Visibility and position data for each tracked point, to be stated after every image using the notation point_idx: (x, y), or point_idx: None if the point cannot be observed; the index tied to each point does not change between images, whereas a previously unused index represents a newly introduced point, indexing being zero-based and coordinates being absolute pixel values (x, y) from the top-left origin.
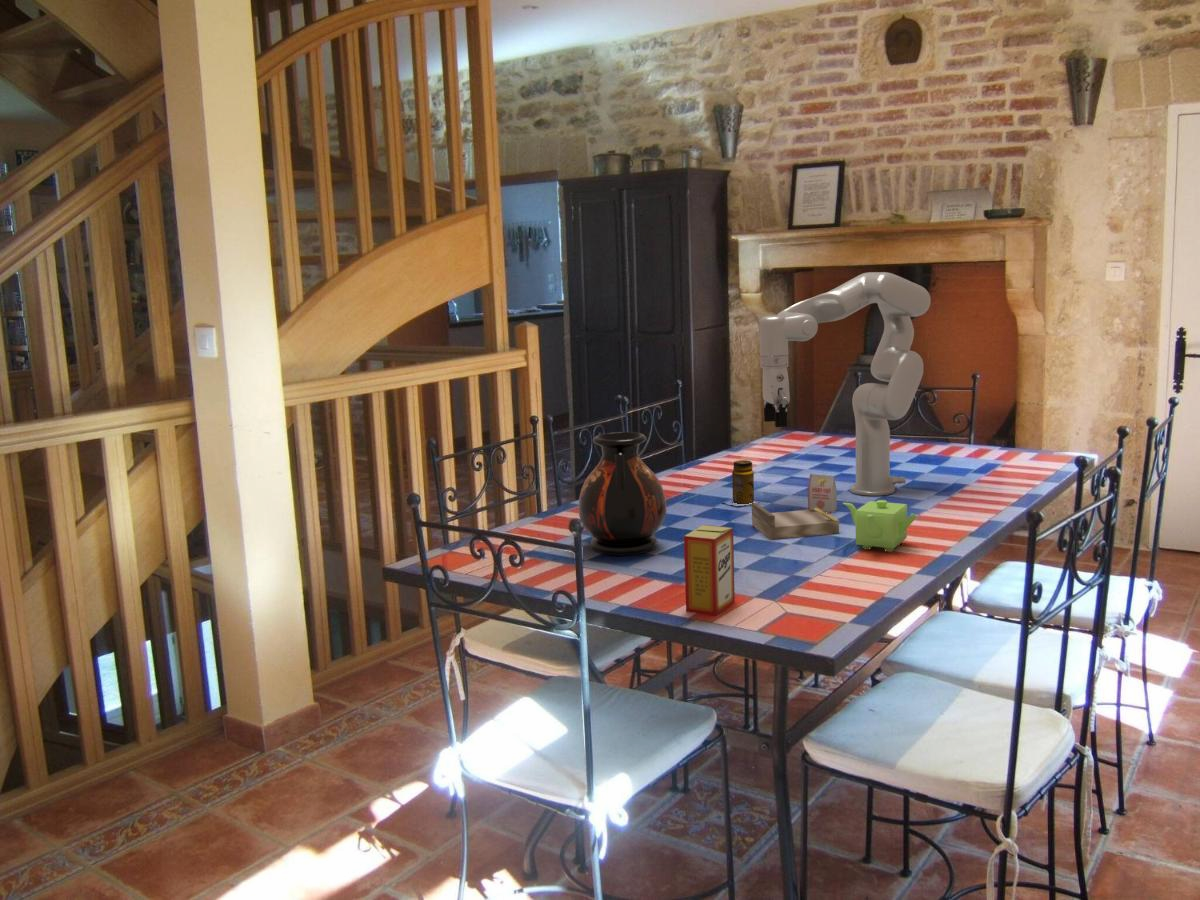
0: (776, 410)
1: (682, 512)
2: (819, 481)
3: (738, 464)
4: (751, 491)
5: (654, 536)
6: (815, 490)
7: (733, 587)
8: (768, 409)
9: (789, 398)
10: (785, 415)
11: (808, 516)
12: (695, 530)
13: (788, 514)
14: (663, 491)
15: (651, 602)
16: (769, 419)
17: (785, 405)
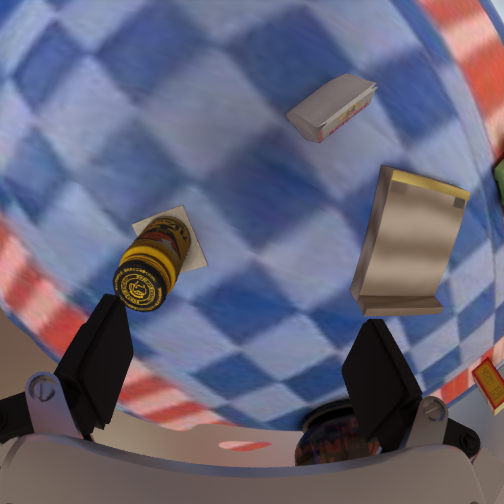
0: (384, 449)
1: (204, 350)
2: (343, 115)
3: (158, 307)
4: (180, 239)
5: (349, 406)
6: (336, 129)
7: (492, 364)
8: (105, 403)
9: (476, 475)
10: (405, 379)
11: (425, 219)
12: (495, 412)
13: (395, 244)
14: (377, 445)
15: (451, 396)
16: (125, 340)
17: (473, 443)
